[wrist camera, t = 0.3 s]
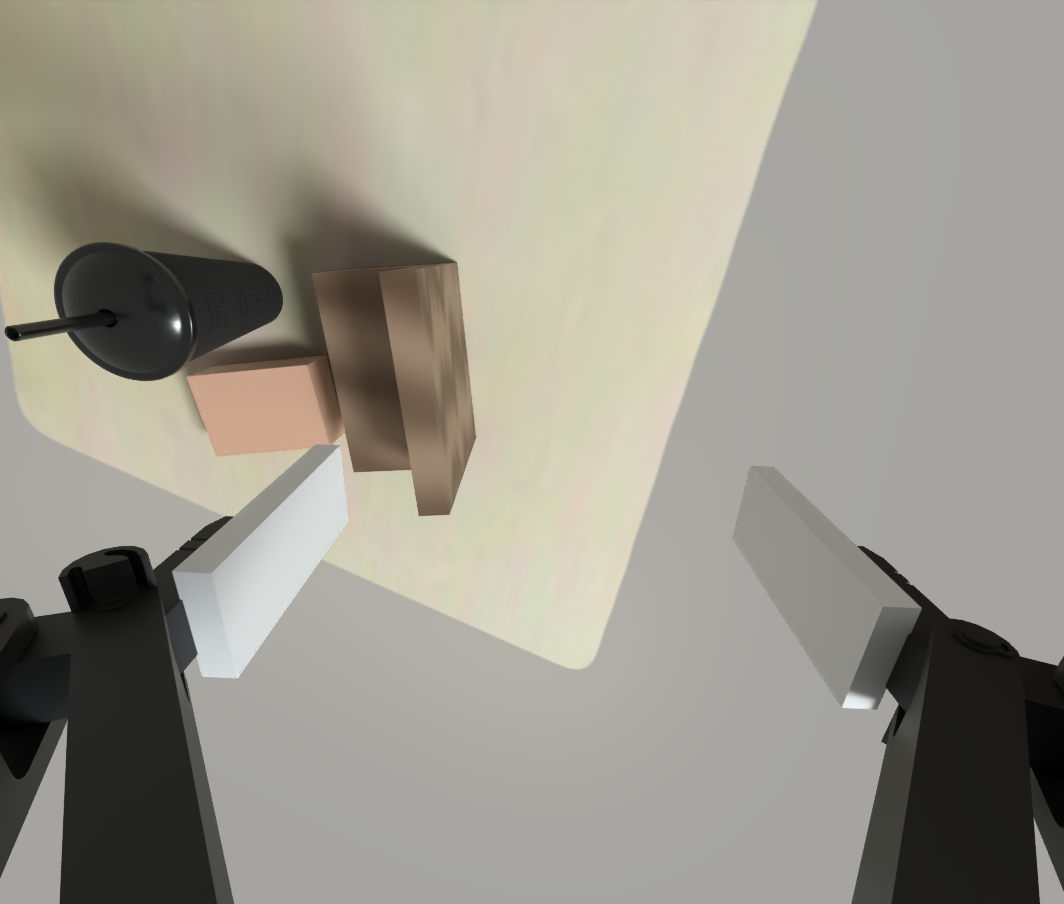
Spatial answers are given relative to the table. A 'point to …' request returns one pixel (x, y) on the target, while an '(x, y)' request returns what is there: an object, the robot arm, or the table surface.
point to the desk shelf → (401, 373)
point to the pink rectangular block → (268, 405)
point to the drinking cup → (153, 307)
